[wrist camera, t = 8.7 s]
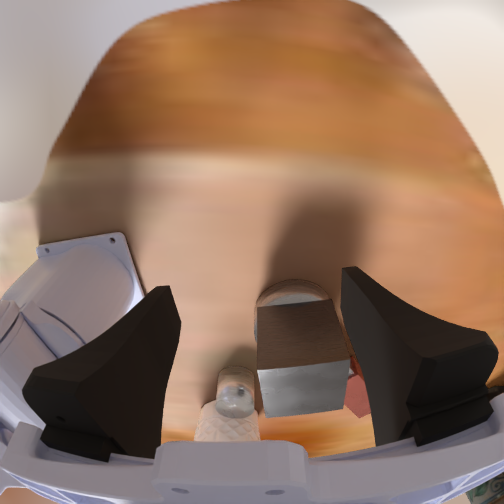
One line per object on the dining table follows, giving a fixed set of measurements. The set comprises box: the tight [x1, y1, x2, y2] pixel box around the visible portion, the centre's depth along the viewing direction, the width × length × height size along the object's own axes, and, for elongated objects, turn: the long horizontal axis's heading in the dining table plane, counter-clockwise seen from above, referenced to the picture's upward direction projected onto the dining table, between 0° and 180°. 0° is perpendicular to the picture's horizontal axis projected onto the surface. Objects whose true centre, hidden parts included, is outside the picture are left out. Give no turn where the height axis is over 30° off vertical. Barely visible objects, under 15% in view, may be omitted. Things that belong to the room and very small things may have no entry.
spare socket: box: [215, 366, 254, 419], centre depth 28 cm, size 4×4×4 cm
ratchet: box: [254, 280, 371, 418], centre depth 26 cm, size 20×6×6 cm, turn 37°
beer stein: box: [465, 386, 504, 504], centre depth 26 cm, size 16×19×25 cm
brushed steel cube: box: [257, 299, 351, 418], centre depth 21 cm, size 5×5×6 cm
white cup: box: [194, 400, 260, 442], centre depth 29 cm, size 8×8×10 cm
